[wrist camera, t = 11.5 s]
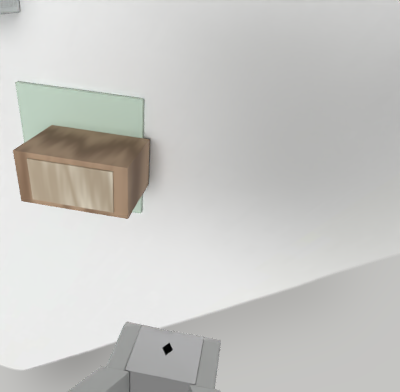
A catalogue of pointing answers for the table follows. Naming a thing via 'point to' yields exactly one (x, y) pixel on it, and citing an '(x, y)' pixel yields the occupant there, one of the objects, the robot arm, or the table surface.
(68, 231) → the table surface
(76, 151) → the walnut block
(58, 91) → the green glass pane
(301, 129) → the table surface
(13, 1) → the small box
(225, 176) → the table surface
